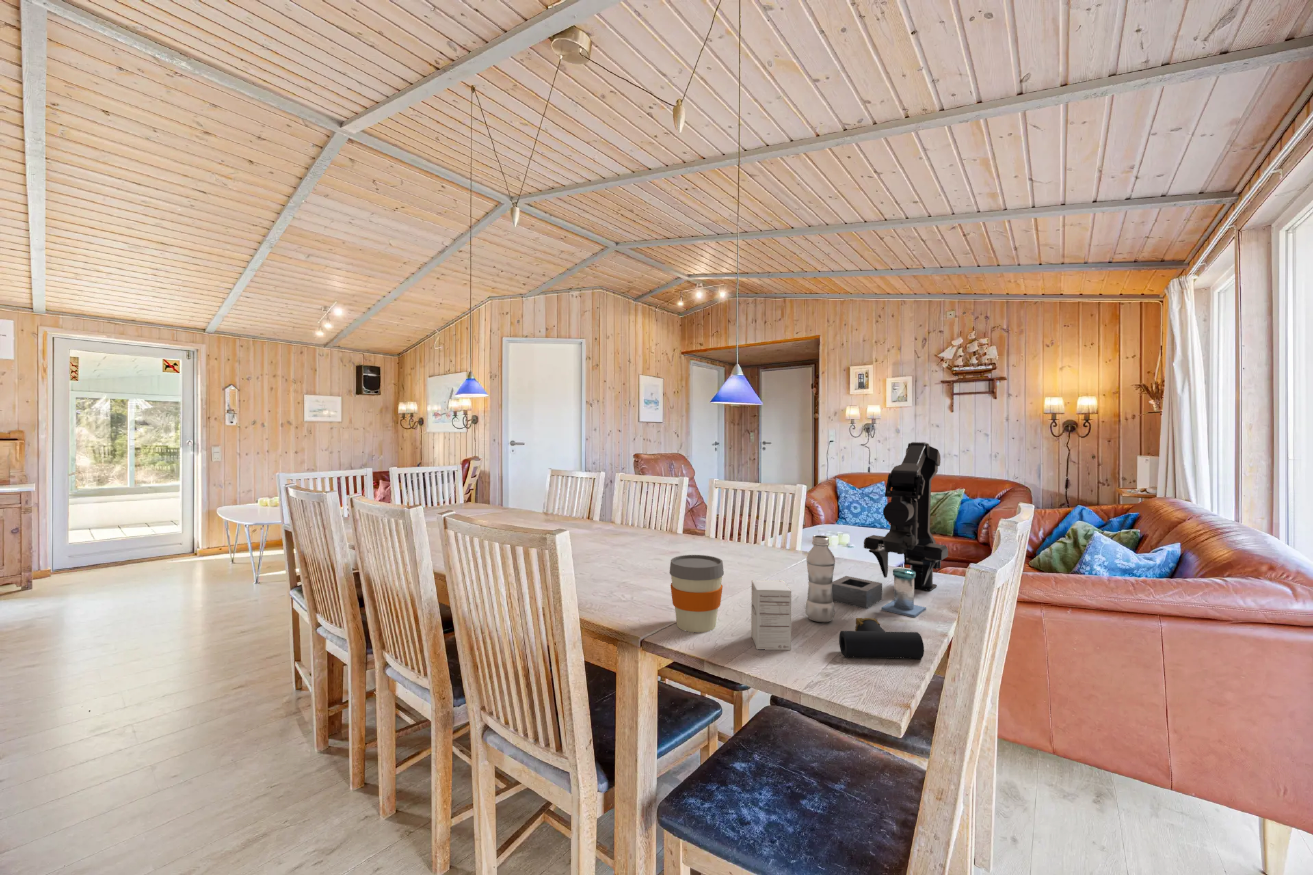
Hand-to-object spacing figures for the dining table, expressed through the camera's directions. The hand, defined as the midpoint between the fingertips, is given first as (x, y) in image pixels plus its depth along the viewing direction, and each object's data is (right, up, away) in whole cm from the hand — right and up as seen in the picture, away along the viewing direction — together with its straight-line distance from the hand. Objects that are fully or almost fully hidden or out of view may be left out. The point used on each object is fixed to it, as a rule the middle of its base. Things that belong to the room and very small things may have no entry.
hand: (904, 580), depth 136 cm
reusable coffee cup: (-53, -8, -11) cm, 55 cm away
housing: (-9, -7, +8) cm, 14 cm away
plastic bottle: (-24, -8, -8) cm, 26 cm away
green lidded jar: (0, -7, 0) cm, 7 cm away
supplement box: (-38, -8, -21) cm, 44 cm away
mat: (0, -7, 0) cm, 7 cm away
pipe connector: (-17, -8, -24) cm, 31 cm away
